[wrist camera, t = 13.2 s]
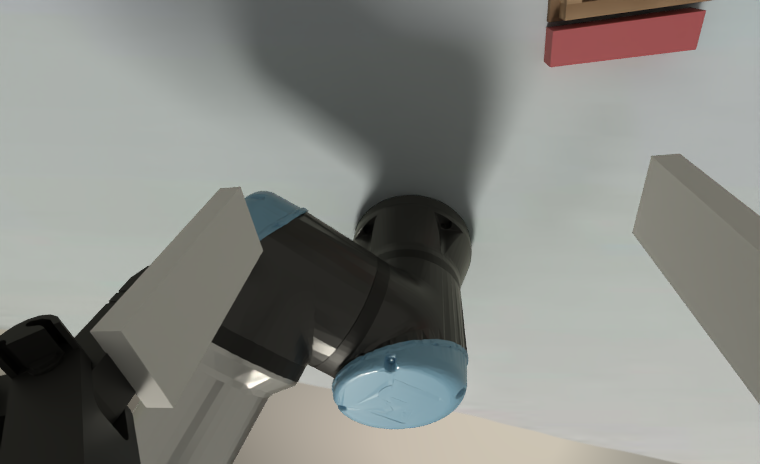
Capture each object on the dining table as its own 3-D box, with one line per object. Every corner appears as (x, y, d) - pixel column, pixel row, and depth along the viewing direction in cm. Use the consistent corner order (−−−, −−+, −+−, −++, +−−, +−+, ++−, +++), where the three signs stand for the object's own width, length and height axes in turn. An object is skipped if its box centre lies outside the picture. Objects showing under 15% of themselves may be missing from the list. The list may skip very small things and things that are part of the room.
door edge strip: (681, 44, 37) (695, 49, 35) (544, 61, 39) (550, 67, 37) (690, 7, 36) (705, 10, 34) (546, 27, 38) (553, 31, 36)
